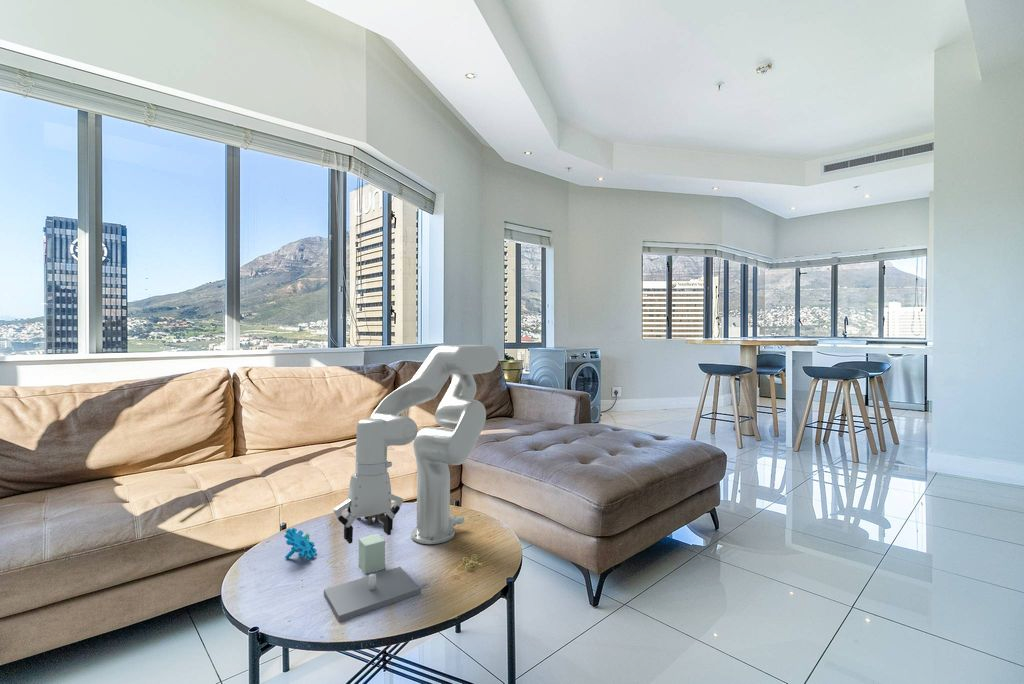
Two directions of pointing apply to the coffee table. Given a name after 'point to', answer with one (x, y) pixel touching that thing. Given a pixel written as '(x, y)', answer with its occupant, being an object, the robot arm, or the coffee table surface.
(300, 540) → the gear
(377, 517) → the rhino figurine
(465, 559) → the dice set
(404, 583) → the pin plate
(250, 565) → the coffee table surface
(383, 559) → the block
